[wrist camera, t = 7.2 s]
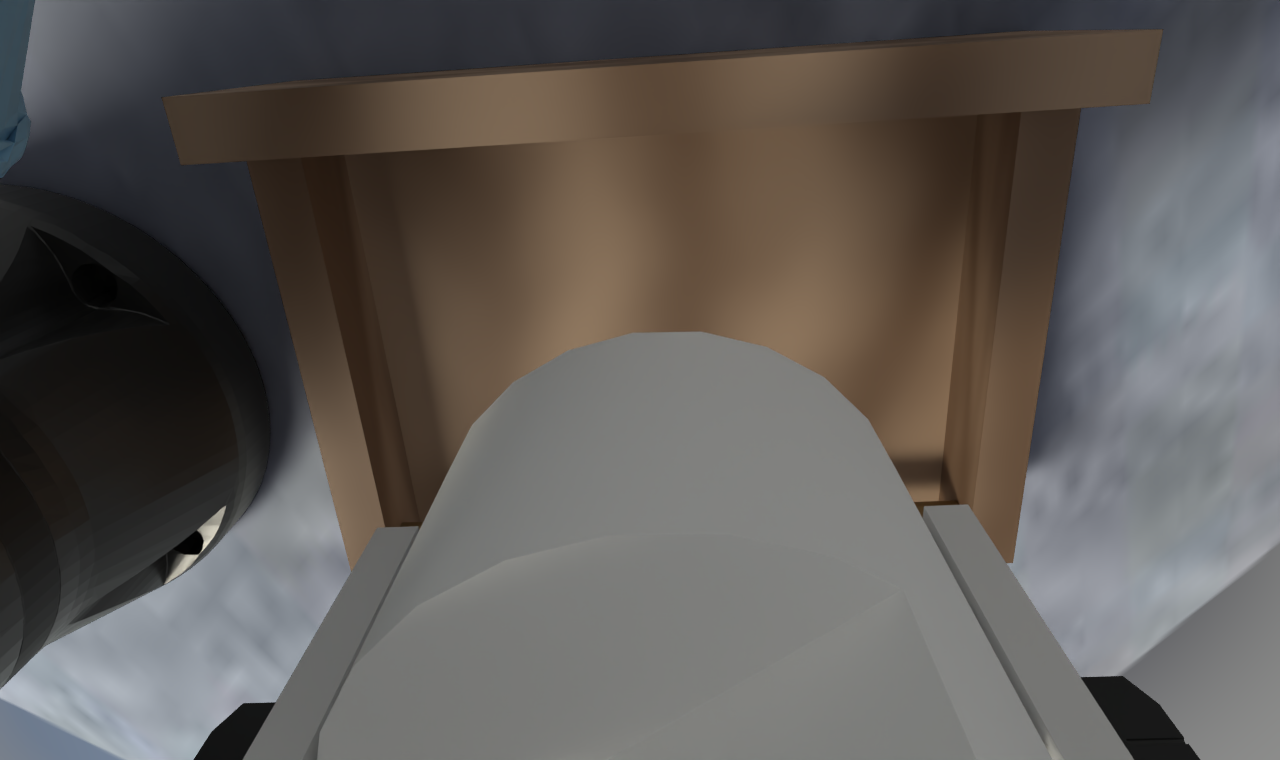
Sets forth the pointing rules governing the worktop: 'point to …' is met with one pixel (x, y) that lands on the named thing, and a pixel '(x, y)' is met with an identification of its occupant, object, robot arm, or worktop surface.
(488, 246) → the caddy
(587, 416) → the cylinder with rectangular tab
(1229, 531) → the worktop surface
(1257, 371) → the worktop surface
